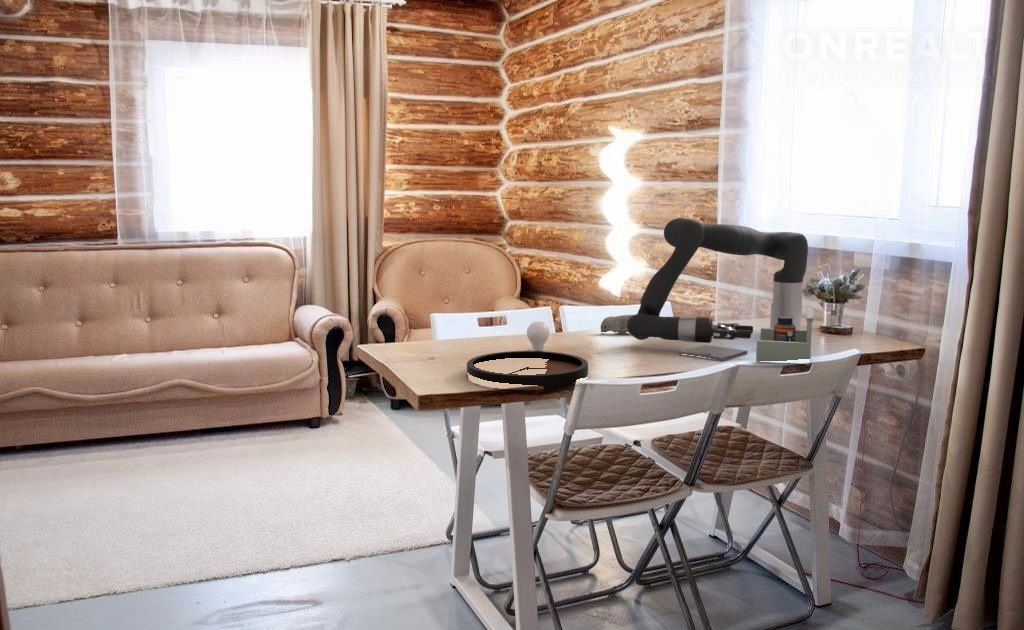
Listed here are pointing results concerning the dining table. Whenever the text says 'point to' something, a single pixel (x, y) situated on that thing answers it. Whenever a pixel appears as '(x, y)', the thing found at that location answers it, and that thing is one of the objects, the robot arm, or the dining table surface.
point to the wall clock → (557, 376)
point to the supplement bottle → (784, 330)
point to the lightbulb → (538, 335)
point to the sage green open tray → (785, 344)
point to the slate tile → (714, 352)
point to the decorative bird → (615, 324)
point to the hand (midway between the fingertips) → (751, 332)
